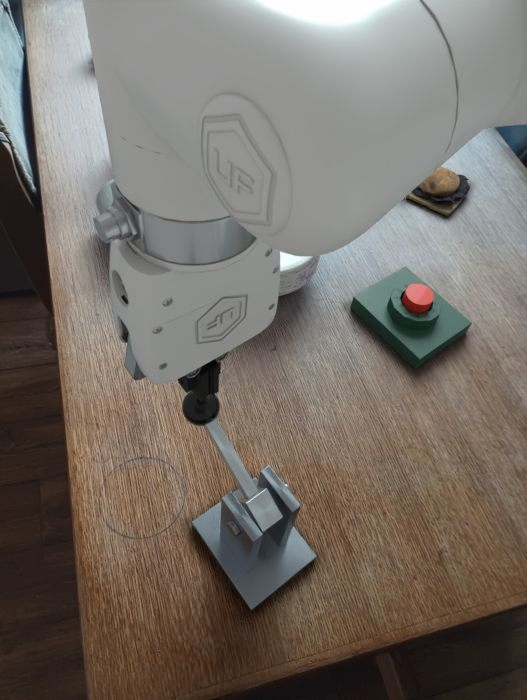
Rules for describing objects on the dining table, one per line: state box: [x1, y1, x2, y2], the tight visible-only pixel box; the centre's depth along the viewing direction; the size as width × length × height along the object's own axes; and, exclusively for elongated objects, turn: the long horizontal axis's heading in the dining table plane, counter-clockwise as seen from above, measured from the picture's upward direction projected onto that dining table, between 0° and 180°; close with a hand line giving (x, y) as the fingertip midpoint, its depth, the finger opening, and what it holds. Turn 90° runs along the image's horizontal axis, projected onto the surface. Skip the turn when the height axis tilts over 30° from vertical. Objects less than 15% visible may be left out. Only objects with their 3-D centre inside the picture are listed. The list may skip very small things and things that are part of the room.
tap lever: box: [181, 391, 283, 532], centre depth 46 cm, size 13×3×3 cm, turn 37°
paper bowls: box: [278, 251, 321, 297], centre depth 72 cm, size 15×15×8 cm
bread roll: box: [405, 166, 471, 217], centre depth 87 cm, size 11×8×4 cm
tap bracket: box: [191, 464, 318, 613], centre depth 49 cm, size 10×8×12 cm
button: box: [402, 284, 434, 314], centre depth 69 cm, size 4×4×2 cm
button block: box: [349, 266, 473, 370], centre depth 71 cm, size 12×10×4 cm
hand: (198, 383), depth 43 cm, fingers closed
